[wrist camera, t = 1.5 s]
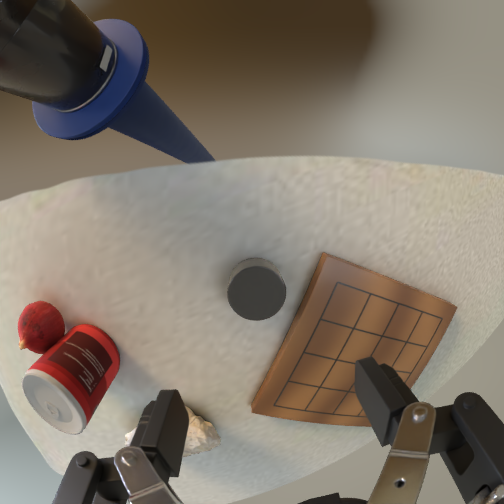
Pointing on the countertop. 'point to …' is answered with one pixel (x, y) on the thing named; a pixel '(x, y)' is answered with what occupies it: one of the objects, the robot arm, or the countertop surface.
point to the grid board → (349, 342)
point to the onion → (40, 327)
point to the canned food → (72, 378)
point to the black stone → (256, 289)
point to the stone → (193, 435)
